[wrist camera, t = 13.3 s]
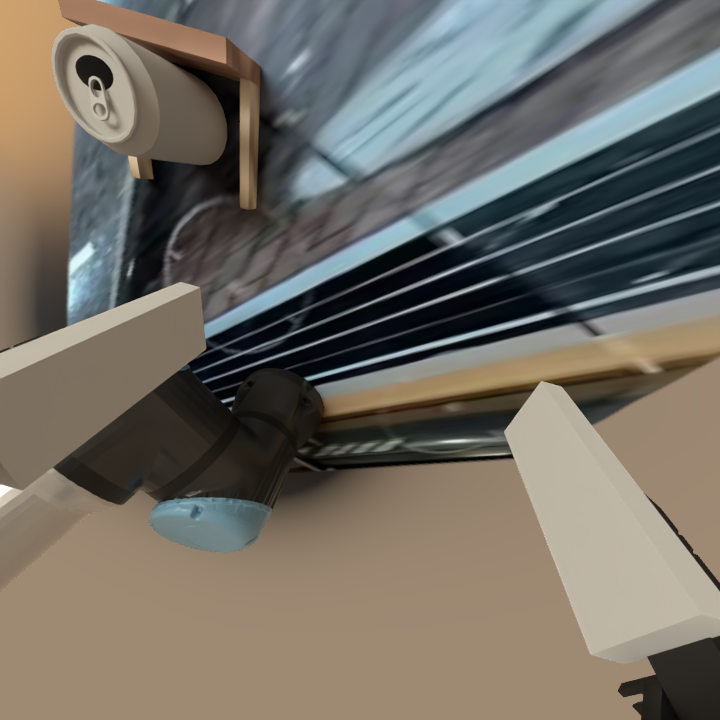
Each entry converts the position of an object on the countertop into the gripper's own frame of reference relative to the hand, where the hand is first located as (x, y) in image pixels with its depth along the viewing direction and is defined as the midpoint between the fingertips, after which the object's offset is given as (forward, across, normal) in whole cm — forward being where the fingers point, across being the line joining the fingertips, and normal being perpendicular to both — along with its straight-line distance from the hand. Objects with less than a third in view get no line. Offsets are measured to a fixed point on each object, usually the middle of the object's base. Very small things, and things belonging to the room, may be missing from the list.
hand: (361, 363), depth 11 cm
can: (+27, +24, -7) cm, 37 cm away
